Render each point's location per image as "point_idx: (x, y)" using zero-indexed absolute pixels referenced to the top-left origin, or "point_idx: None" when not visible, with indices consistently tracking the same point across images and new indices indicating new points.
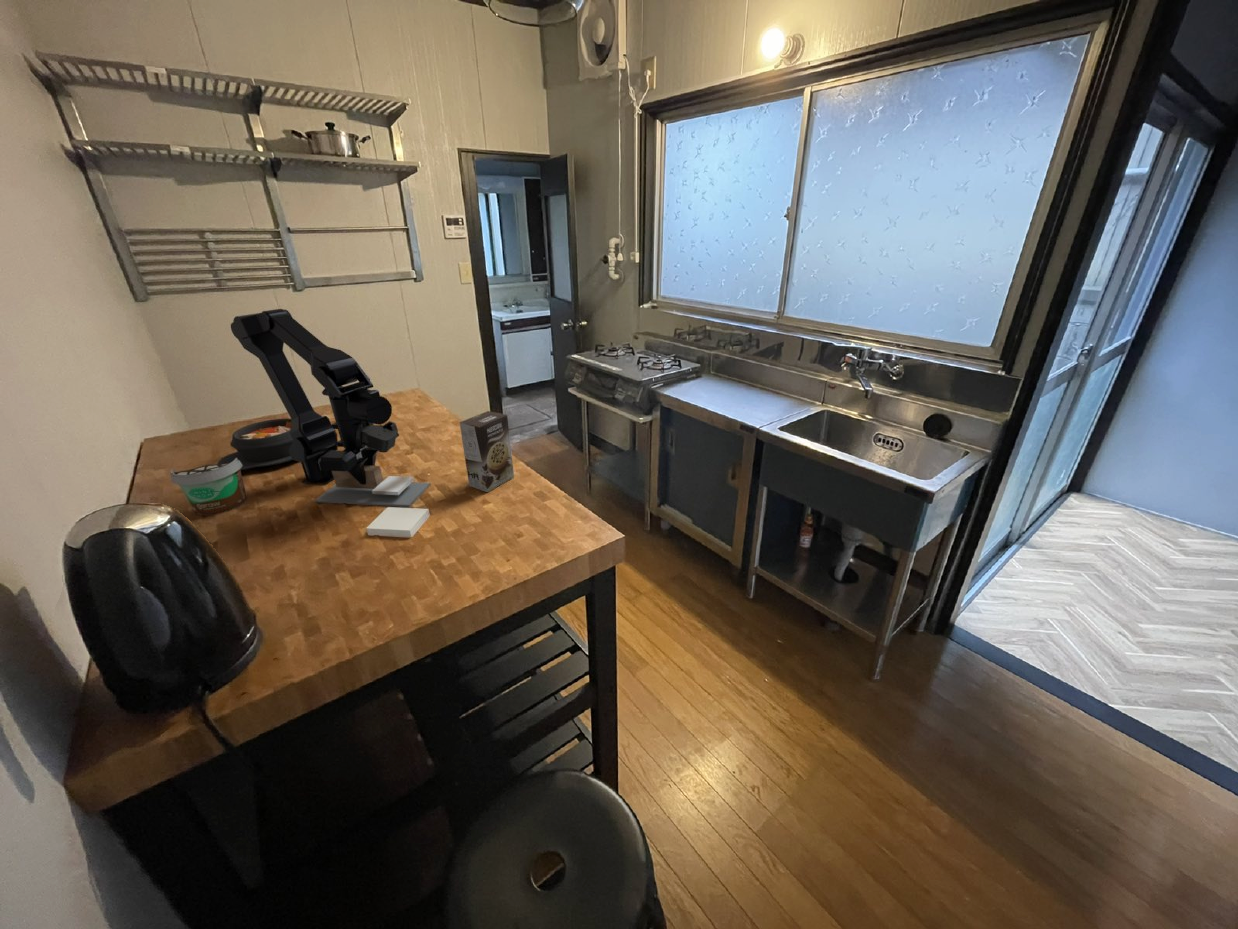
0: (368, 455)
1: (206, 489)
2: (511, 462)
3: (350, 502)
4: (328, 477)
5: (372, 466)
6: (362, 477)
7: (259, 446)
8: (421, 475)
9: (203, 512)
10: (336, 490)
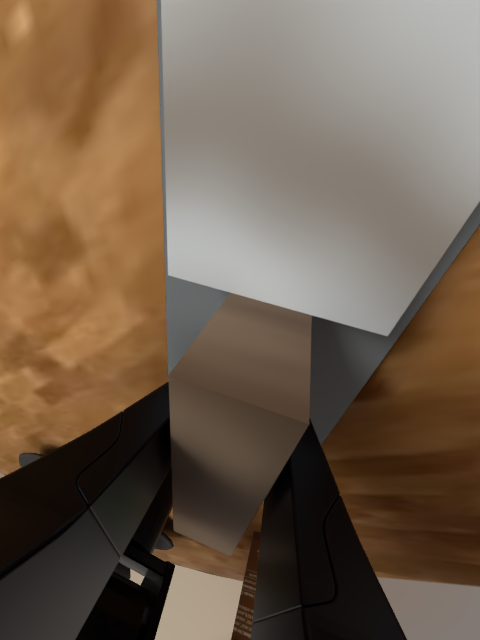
0: (70, 564)
1: None
2: None
3: (357, 393)
4: None
5: (186, 428)
6: (320, 447)
7: (115, 571)
8: (55, 91)
9: None
10: None
